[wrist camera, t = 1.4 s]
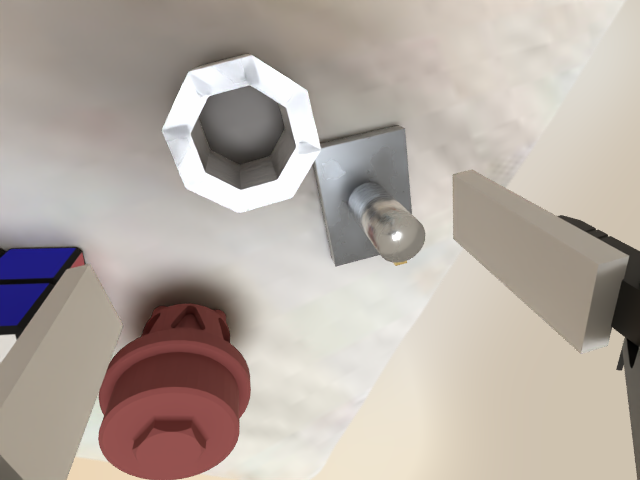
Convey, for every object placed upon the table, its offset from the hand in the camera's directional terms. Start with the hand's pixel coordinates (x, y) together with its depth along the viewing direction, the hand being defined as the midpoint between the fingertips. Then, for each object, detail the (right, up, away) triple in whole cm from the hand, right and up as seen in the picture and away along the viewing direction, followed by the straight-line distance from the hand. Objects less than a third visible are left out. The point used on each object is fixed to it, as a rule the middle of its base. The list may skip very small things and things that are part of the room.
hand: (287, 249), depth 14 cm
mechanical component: (-10, -7, +21) cm, 24 cm away
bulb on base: (+5, +4, +18) cm, 19 cm away
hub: (-4, +9, +14) cm, 17 cm away
